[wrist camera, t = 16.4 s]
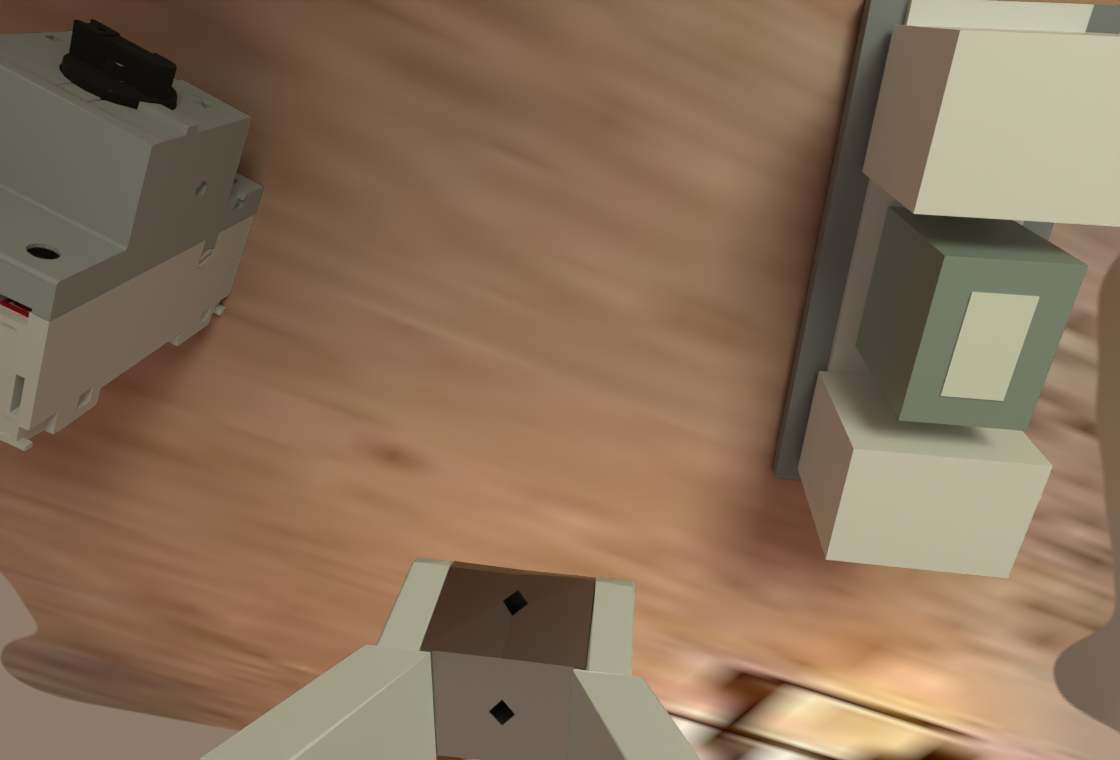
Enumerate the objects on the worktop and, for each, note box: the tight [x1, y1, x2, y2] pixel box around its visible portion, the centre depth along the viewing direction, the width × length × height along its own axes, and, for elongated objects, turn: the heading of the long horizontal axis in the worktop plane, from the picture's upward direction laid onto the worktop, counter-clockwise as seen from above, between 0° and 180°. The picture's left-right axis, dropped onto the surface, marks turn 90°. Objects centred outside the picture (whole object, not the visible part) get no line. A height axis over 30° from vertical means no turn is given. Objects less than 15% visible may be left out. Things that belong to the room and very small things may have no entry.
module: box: [855, 207, 1088, 431], centre depth 32 cm, size 7×5×8 cm
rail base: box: [773, 0, 1120, 578], centre depth 33 cm, size 24×10×9 cm, turn 178°
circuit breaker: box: [0, 19, 264, 451], centre depth 32 cm, size 8×14×15 cm, turn 152°
